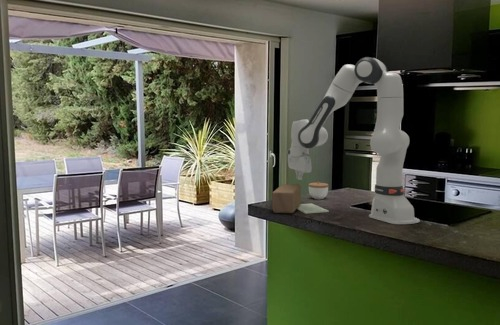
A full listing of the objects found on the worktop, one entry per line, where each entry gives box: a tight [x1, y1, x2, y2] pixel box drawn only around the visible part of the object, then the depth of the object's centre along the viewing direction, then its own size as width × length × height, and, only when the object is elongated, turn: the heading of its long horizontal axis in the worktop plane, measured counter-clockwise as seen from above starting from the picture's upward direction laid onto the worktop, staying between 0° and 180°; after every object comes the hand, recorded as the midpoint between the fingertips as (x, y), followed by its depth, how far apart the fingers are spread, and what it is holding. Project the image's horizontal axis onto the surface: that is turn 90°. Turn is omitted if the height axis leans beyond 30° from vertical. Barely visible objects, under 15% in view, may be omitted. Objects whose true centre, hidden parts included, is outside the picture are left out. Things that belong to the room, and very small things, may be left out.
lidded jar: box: [308, 180, 329, 200], centre depth 247 cm, size 11×11×9 cm
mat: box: [296, 202, 330, 215], centre depth 220 cm, size 18×12×1 cm, turn 19°
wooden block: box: [271, 183, 302, 214], centre depth 219 cm, size 10×10×20 cm
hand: (299, 179), depth 227 cm, fingers closed
